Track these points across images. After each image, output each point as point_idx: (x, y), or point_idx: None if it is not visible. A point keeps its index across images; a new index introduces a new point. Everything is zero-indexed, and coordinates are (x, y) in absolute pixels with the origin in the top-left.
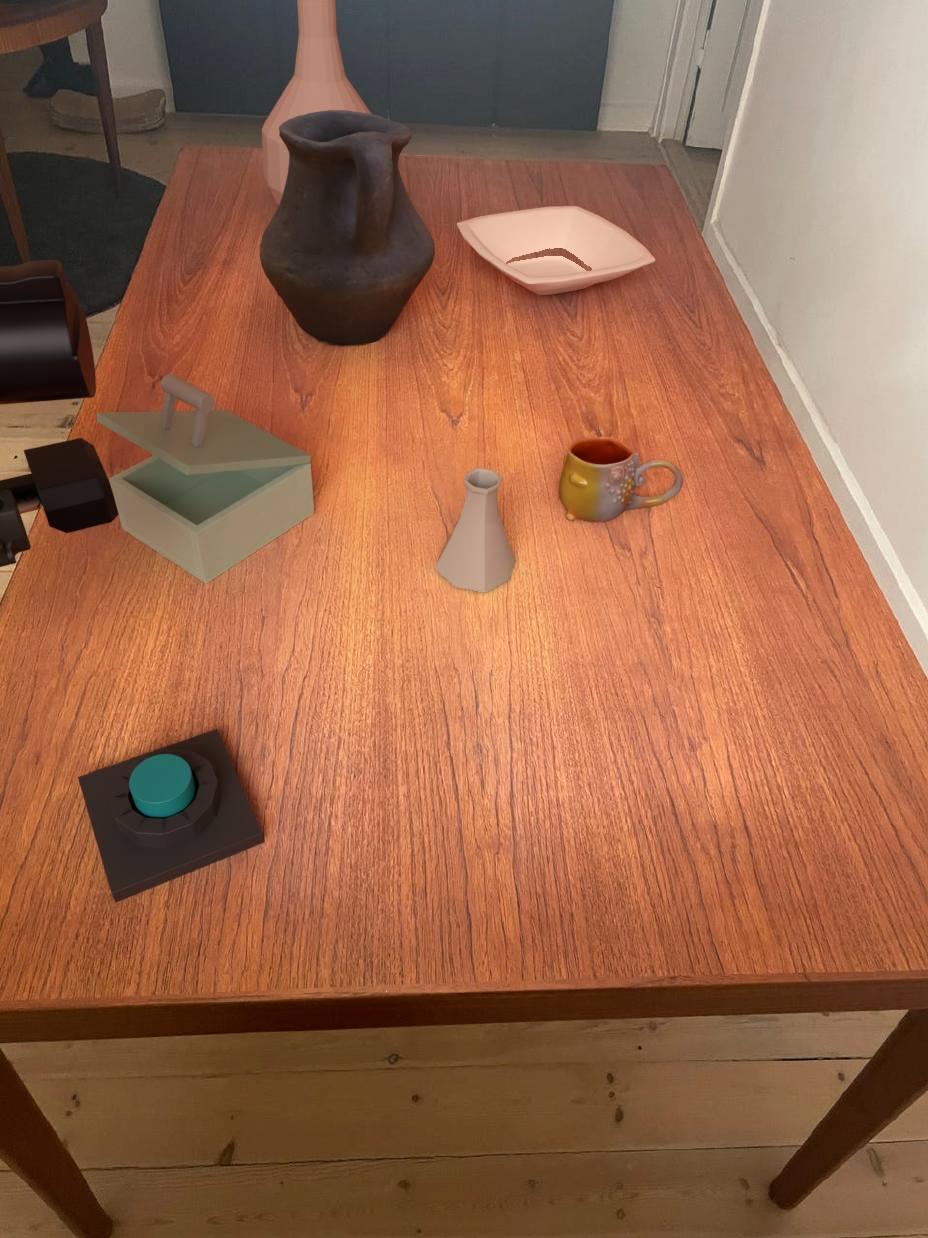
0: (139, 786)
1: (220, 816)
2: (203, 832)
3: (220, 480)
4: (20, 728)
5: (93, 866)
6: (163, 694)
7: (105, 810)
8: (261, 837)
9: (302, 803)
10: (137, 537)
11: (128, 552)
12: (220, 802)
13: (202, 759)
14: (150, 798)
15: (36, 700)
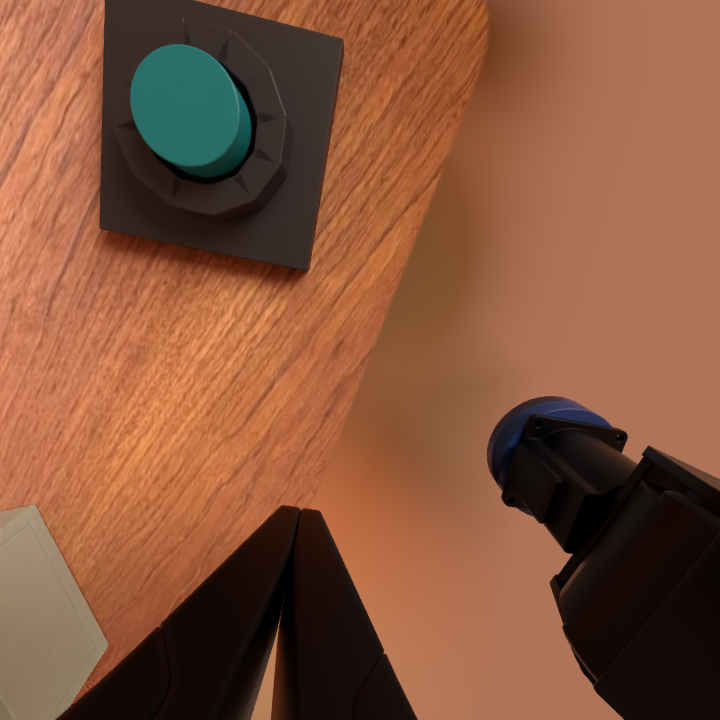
0: (223, 113)
1: None
2: None
3: None
4: (337, 406)
5: (344, 136)
6: (159, 353)
7: (296, 188)
8: None
9: (42, 27)
10: (93, 622)
11: (116, 604)
12: None
13: (120, 139)
14: (215, 73)
15: (305, 436)
